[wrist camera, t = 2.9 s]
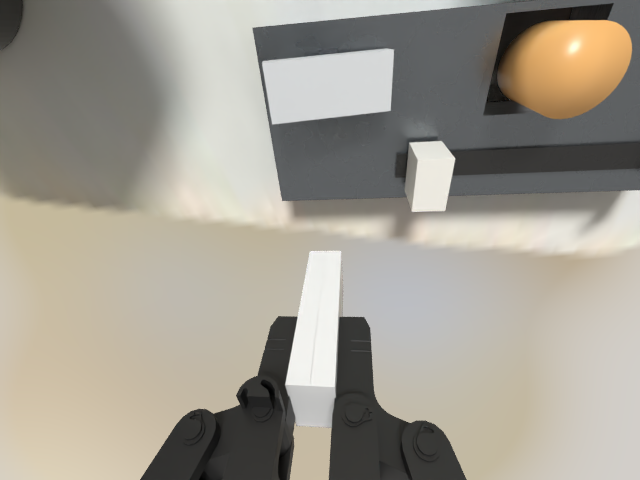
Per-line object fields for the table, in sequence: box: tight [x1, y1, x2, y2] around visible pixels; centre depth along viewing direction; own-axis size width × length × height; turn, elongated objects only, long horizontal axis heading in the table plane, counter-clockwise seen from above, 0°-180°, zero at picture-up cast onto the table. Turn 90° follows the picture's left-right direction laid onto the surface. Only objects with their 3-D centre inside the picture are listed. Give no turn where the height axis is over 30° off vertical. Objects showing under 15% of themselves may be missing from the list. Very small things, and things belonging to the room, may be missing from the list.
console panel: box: [253, 0, 640, 201], centre depth 22 cm, size 32×13×6 cm, turn 94°
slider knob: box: [405, 141, 455, 212], centre depth 22 cm, size 2×4×4 cm, turn 4°
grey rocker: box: [262, 48, 394, 124], centre depth 19 cm, size 8×4×2 cm, turn 95°
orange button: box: [497, 20, 632, 119], centre depth 18 cm, size 5×5×5 cm
